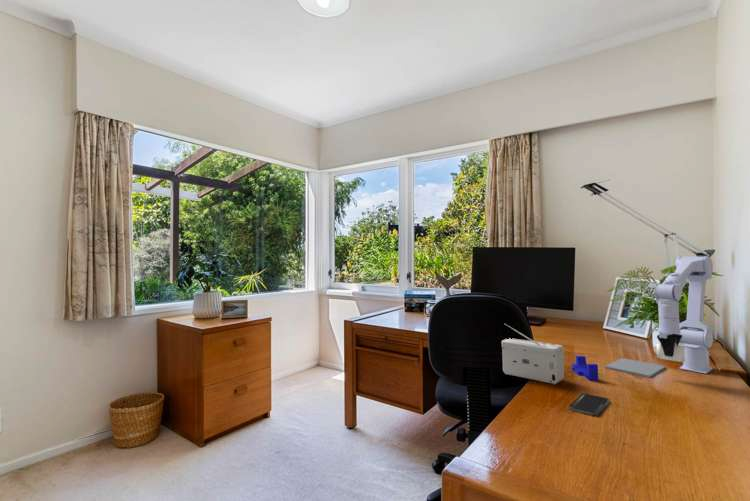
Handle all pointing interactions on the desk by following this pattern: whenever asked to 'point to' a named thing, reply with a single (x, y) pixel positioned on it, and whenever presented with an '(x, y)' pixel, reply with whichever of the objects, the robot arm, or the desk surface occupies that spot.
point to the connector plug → (677, 356)
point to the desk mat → (635, 367)
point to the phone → (589, 404)
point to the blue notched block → (585, 368)
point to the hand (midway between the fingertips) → (670, 355)
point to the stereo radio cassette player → (533, 359)
